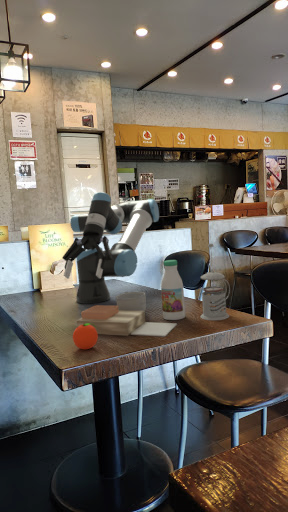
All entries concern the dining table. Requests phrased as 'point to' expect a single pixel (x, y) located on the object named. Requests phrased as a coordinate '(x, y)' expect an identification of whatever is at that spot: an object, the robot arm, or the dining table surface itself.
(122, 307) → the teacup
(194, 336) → the dining table surface
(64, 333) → the dining table surface
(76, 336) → the clementine
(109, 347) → the dining table surface
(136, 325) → the block
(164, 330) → the mat
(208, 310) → the french press
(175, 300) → the milk bottle
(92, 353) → the dining table surface
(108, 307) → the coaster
